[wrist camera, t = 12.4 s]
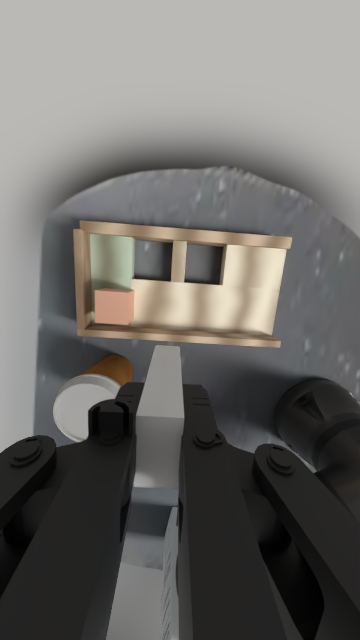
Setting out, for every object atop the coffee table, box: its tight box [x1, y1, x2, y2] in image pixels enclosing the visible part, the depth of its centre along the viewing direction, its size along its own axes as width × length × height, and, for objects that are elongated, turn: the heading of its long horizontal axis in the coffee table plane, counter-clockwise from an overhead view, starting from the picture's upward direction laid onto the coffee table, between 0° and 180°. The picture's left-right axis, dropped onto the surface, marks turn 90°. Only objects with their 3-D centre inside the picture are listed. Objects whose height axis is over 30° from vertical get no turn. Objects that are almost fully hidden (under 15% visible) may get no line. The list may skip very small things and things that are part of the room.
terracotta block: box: [95, 288, 135, 325], centre depth 30 cm, size 4×4×4 cm
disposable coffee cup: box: [53, 354, 133, 442], centre depth 31 cm, size 10×10×12 cm
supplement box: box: [160, 507, 179, 640], centre depth 37 cm, size 10×9×17 cm
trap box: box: [73, 220, 292, 348], centre depth 31 cm, size 30×16×6 cm, turn 86°
